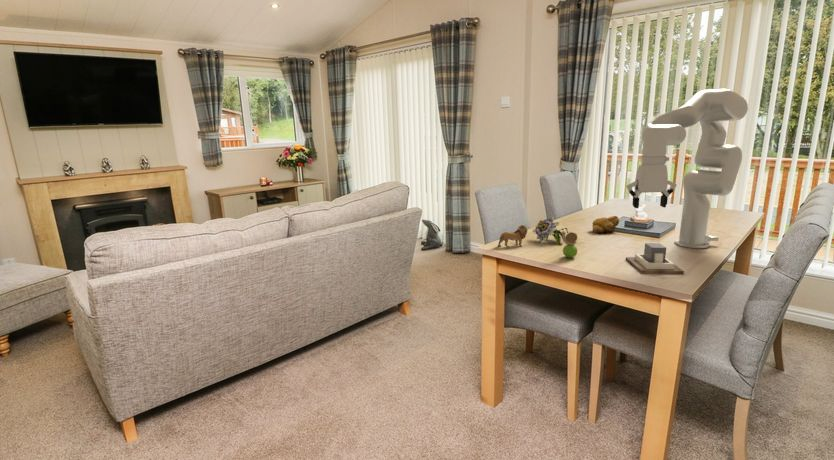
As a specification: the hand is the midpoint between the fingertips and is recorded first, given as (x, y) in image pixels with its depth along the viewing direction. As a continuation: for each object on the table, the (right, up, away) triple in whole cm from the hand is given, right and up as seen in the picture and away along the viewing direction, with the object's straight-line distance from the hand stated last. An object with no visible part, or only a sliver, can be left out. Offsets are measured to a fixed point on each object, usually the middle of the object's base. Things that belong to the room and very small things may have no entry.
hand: (649, 207), depth 164 cm
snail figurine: (-27, -20, +11) cm, 35 cm away
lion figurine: (-45, -16, +29) cm, 55 cm away
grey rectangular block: (0, -21, -3) cm, 21 cm away
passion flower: (-27, -14, +35) cm, 46 cm away
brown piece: (0, -22, -2) cm, 22 cm away
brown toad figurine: (+3, -10, +49) cm, 50 cm away
